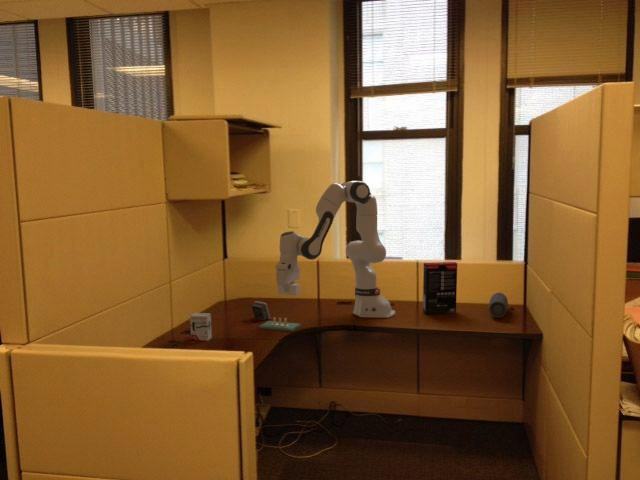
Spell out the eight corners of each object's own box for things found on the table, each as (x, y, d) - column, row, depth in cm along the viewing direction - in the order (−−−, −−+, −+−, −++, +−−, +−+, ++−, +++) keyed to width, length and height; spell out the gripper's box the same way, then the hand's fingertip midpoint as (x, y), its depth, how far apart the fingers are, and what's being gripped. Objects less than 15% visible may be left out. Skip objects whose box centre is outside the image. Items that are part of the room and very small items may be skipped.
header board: (300, 326, 286) (300, 316, 285) (292, 331, 277) (291, 321, 276) (268, 323, 293) (268, 314, 292) (259, 328, 284) (259, 319, 283)
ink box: (190, 340, 265) (189, 315, 264) (194, 337, 270) (193, 312, 269) (208, 340, 264) (207, 315, 263) (212, 337, 269) (210, 313, 268)
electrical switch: (271, 319, 301) (269, 302, 300) (263, 322, 298) (261, 305, 296) (259, 316, 308) (257, 299, 306) (251, 319, 304) (249, 302, 302)
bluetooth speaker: (507, 320, 288) (507, 301, 287) (488, 319, 291) (488, 300, 290) (508, 310, 309) (508, 291, 308) (490, 309, 312) (490, 291, 311)
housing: (299, 293, 291) (299, 284, 290) (296, 295, 287) (295, 285, 286) (282, 292, 295) (282, 282, 294) (278, 294, 291) (278, 284, 290)
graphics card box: (452, 310, 311) (453, 260, 308) (457, 313, 305) (457, 262, 302) (422, 312, 309) (422, 262, 306) (426, 315, 302) (426, 264, 299)
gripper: (291, 260, 300) (292, 286, 301) (273, 266, 281) (274, 294, 283) (302, 261, 297) (303, 287, 299) (285, 267, 279) (285, 295, 280)
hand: (289, 290), depth 291 cm, fingers closed on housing, 5 cm apart
